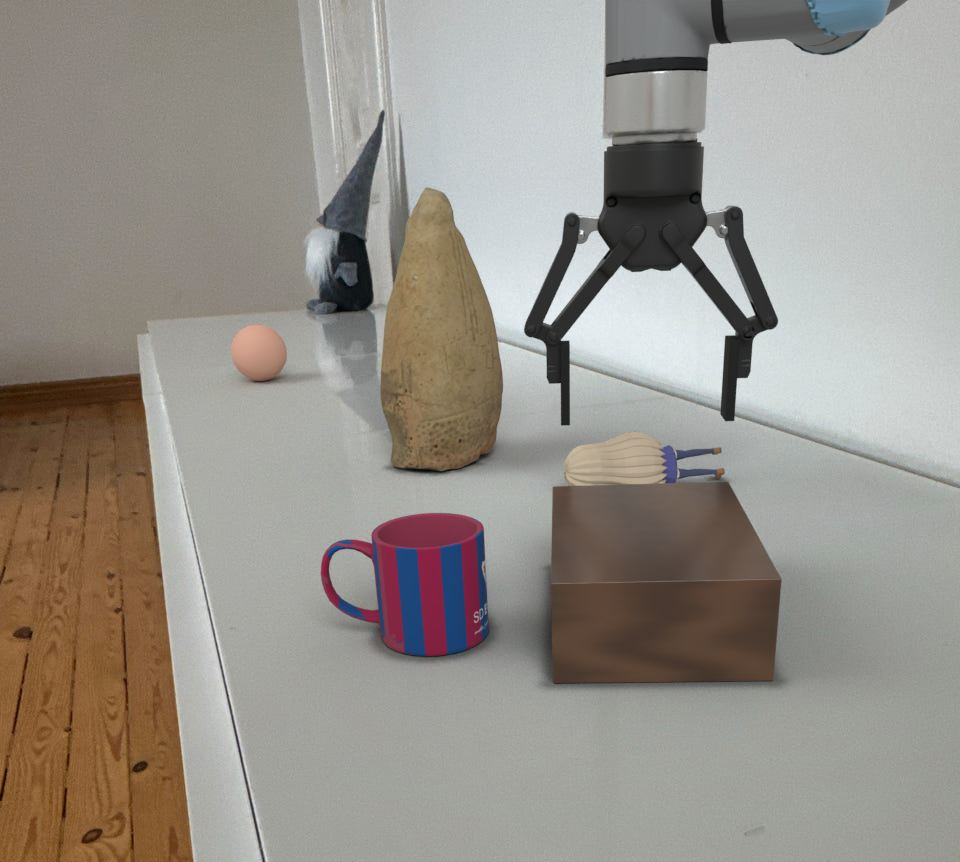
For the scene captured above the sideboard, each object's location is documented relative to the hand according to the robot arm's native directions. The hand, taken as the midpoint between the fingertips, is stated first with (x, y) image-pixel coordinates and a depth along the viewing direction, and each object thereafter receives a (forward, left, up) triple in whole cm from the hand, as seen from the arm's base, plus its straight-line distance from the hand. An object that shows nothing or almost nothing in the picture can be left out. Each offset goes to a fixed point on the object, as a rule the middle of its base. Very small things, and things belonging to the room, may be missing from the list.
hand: (645, 420), depth 85 cm
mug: (+17, +29, -6) cm, 34 cm away
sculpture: (+19, -13, -6) cm, 24 cm away
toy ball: (+51, -61, -6) cm, 80 cm away
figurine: (0, 0, -6) cm, 6 cm away
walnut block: (+2, +27, -6) cm, 28 cm away
